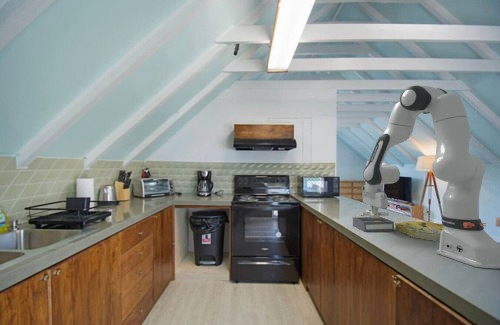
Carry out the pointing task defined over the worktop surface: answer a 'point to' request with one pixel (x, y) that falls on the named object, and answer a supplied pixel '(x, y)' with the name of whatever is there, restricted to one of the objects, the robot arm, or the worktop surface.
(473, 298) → the worktop surface
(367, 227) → the box
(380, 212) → the switch
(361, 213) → the switch
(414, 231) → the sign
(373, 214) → the switch
